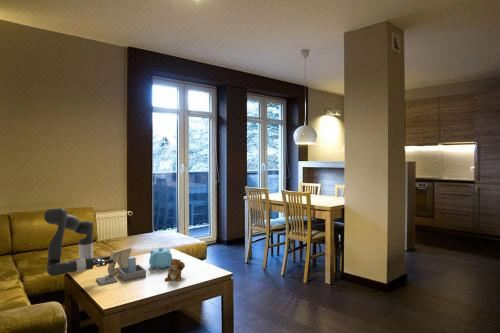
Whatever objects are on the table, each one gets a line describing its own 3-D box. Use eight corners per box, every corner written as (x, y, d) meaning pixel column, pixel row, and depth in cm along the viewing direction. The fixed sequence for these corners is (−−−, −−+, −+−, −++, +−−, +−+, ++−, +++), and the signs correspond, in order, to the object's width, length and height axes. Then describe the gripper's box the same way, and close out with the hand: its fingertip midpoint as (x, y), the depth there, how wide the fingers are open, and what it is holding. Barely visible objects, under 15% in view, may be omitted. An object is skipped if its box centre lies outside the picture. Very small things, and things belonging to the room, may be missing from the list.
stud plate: (96, 280, 225) (96, 274, 225) (112, 276, 231) (112, 271, 231) (100, 285, 215) (100, 279, 215) (117, 281, 221) (117, 275, 221)
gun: (111, 276, 232) (112, 253, 233) (106, 275, 233) (107, 253, 234) (131, 268, 256) (131, 247, 257) (126, 267, 257) (127, 247, 258)
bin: (118, 275, 235) (118, 268, 234) (139, 271, 243) (139, 264, 242) (124, 281, 222) (124, 274, 222) (146, 276, 230) (146, 270, 230)
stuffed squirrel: (163, 281, 221) (163, 260, 221) (173, 274, 235) (172, 254, 235) (178, 282, 219) (178, 261, 219) (187, 275, 233) (186, 255, 232)
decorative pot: (173, 262, 262) (172, 244, 261) (172, 269, 246) (172, 249, 245) (150, 264, 259) (150, 245, 258) (148, 270, 243) (148, 251, 243)
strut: (128, 274, 233) (127, 257, 233) (134, 273, 235) (133, 256, 235) (129, 276, 230) (129, 258, 229) (136, 274, 232) (135, 257, 232)
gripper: (86, 261, 210) (114, 256, 220) (81, 255, 222) (108, 251, 231) (86, 273, 211) (114, 268, 220) (82, 267, 222) (109, 262, 232)
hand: (111, 259), depth 226 cm, fingers open, 8 cm apart
